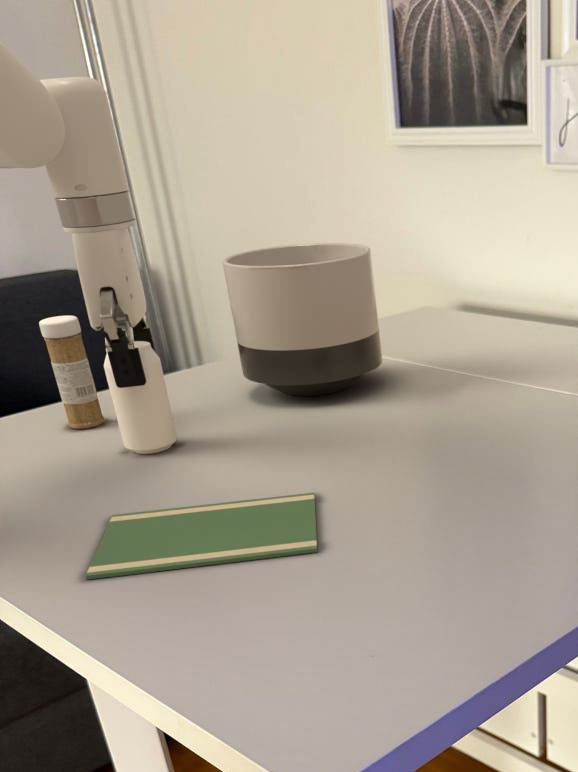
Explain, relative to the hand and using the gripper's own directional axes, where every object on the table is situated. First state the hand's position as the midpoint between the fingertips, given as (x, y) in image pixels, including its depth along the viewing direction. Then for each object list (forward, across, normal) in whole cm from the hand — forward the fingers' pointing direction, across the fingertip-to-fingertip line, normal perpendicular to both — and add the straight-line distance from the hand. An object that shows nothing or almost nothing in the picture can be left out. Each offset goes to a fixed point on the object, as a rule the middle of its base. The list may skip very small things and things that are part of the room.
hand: (138, 374), depth 107 cm
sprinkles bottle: (+9, -13, -10) cm, 19 cm away
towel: (+8, +29, +8) cm, 32 cm away
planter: (+9, -20, +20) cm, 29 cm away
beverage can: (+9, 0, 0) cm, 9 cm away
